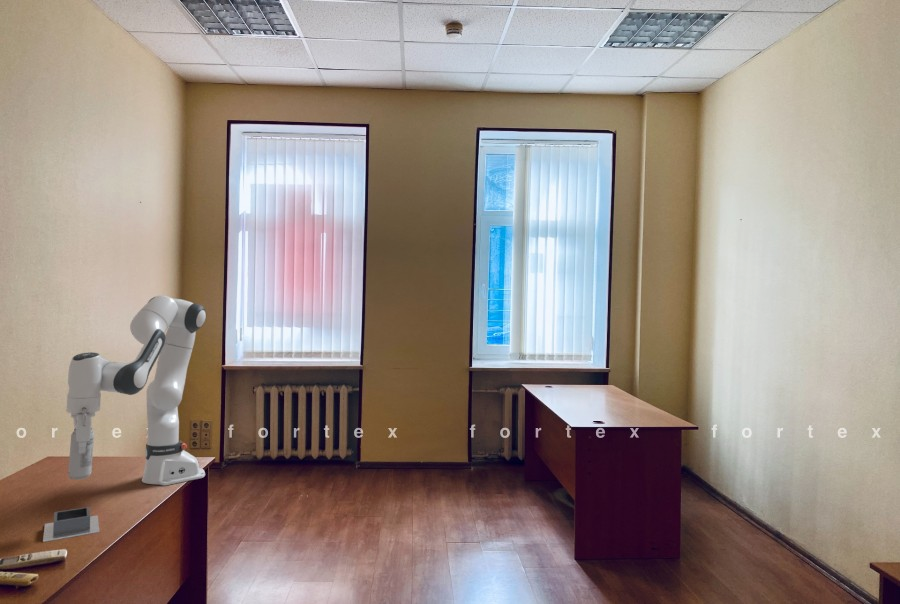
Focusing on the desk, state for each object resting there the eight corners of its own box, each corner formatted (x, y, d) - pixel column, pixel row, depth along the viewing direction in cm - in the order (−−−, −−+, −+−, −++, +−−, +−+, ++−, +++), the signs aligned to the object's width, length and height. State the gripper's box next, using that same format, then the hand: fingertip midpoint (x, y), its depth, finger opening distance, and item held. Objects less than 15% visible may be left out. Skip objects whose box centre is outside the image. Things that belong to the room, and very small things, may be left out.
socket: (97, 518, 185) (97, 503, 185) (99, 533, 173) (99, 517, 173) (44, 527, 177) (45, 511, 177) (42, 543, 165) (43, 526, 165)
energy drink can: (79, 473, 180) (83, 426, 181) (95, 475, 179) (99, 428, 179) (63, 478, 174) (66, 429, 175) (79, 480, 173) (83, 431, 173)
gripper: (97, 410, 170) (95, 456, 170) (93, 399, 187) (91, 441, 187) (72, 412, 167) (69, 459, 167) (70, 400, 183) (68, 443, 183)
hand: (81, 449), depth 177 cm, fingers closed on energy drink can, 6 cm apart
